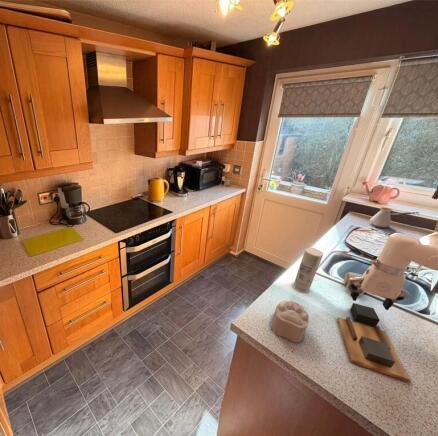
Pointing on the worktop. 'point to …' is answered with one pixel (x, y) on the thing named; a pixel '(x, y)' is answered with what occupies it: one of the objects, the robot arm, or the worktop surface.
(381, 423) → the worktop surface
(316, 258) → the spray can
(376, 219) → the coffee pot
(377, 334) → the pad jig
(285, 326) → the lumpy-topped squat cylinder
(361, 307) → the dark grey square block
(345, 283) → the ceramic mug
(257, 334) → the worktop surface
